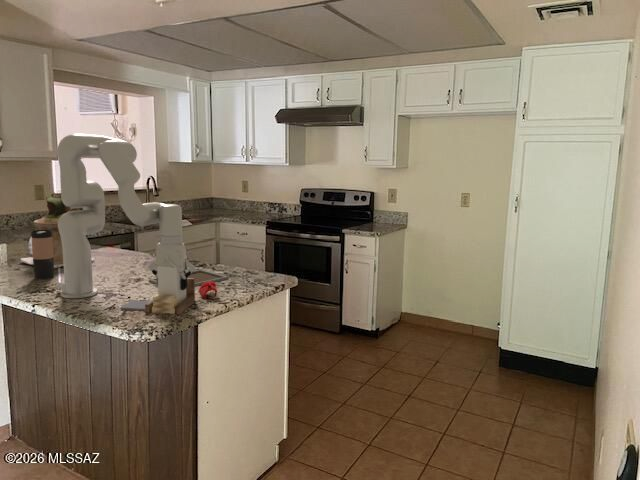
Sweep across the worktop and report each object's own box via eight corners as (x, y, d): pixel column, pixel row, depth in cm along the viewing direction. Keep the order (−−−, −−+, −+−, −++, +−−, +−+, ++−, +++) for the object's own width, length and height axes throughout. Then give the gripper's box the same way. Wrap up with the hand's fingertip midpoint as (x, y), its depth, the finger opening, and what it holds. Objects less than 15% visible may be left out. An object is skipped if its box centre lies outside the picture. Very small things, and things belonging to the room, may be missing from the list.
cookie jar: (47, 270, 218) (42, 199, 213) (18, 263, 231) (13, 196, 225) (97, 261, 239) (94, 196, 234) (68, 255, 252) (64, 193, 246)
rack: (145, 313, 164) (144, 287, 163) (163, 300, 179) (162, 276, 178) (179, 314, 163) (179, 289, 162) (194, 301, 178) (194, 278, 177)
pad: (120, 309, 168) (120, 307, 167) (132, 301, 176) (132, 300, 176) (145, 310, 167) (145, 308, 167) (156, 302, 176) (156, 301, 176)
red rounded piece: (222, 289, 185) (217, 278, 188) (210, 286, 180) (204, 275, 184) (211, 303, 187) (205, 292, 191) (198, 301, 183) (193, 290, 186)
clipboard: (228, 276, 213) (169, 289, 190) (228, 280, 213) (169, 293, 190) (201, 269, 225) (142, 280, 202) (201, 272, 225) (142, 284, 202)
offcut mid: (153, 307, 165) (152, 301, 165) (158, 304, 169) (158, 298, 168) (174, 309, 164) (173, 303, 164) (178, 305, 168) (178, 300, 167)
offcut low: (152, 314, 165) (151, 307, 165) (156, 310, 169) (156, 304, 169) (174, 315, 164) (174, 309, 164) (179, 311, 168) (179, 305, 168)
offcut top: (153, 301, 165) (153, 296, 164) (158, 298, 168) (158, 293, 168) (170, 303, 164) (170, 298, 163) (175, 300, 167) (175, 295, 167)
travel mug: (48, 274, 212) (45, 229, 208) (58, 277, 208) (55, 230, 204) (30, 277, 205) (27, 231, 202) (40, 280, 201) (37, 233, 198)
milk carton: (158, 307, 170) (156, 255, 167) (169, 302, 177) (167, 251, 174) (176, 310, 168) (175, 256, 165) (186, 304, 175) (185, 252, 172)
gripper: (142, 240, 166) (143, 290, 169) (191, 242, 164) (192, 292, 167) (151, 237, 173) (153, 284, 176) (199, 239, 172) (199, 287, 175)
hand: (172, 288), depth 172 cm, fingers closed on milk carton, 7 cm apart
